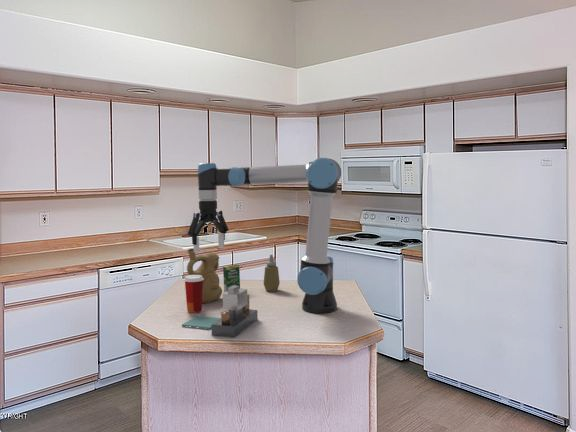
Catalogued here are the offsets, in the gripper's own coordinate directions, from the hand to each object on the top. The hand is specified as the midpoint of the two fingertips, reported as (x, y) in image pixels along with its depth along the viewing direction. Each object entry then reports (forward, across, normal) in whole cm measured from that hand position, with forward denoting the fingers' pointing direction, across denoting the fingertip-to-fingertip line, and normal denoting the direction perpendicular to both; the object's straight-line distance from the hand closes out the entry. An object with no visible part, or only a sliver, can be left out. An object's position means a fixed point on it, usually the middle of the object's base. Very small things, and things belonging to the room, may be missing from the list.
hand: (209, 250), depth 205 cm
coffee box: (+26, -28, -18) cm, 43 cm away
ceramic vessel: (+26, -10, -16) cm, 32 cm away
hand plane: (+26, +8, +24) cm, 36 cm away
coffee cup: (+26, +4, -6) cm, 27 cm away
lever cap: (+18, +8, +24) cm, 31 cm away
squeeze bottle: (+27, -42, -4) cm, 50 cm away
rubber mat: (+26, +13, +11) cm, 31 cm away
